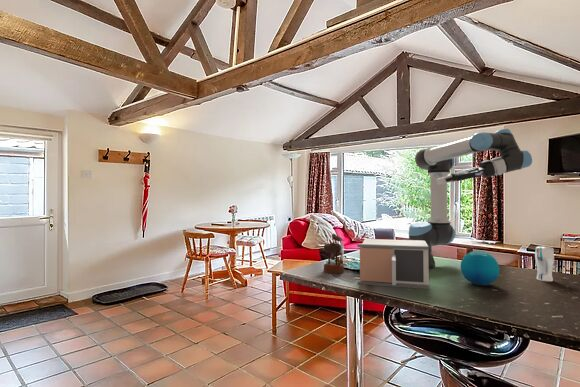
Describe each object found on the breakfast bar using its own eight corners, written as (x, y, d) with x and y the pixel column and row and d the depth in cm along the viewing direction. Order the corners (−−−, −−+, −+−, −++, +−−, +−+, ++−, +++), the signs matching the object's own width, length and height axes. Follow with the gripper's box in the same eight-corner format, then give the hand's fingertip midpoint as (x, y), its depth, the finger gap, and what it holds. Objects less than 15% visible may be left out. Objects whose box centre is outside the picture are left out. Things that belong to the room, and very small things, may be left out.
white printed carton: (554, 279, 154) (554, 247, 154) (553, 282, 149) (553, 249, 149) (536, 277, 159) (536, 245, 159) (534, 280, 154) (533, 247, 154)
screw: (338, 264, 190) (337, 263, 195) (347, 264, 191) (345, 262, 195) (338, 242, 190) (336, 240, 195) (346, 241, 190) (345, 240, 195)
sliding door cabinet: (357, 284, 152) (357, 244, 151) (361, 274, 169) (360, 238, 168) (429, 288, 143) (428, 246, 143) (425, 278, 160) (424, 240, 160)
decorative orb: (457, 286, 146) (457, 252, 146) (463, 278, 158) (463, 246, 158) (497, 292, 137) (497, 255, 137) (501, 283, 149) (501, 250, 149)
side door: (357, 288, 140) (356, 252, 140) (360, 280, 153) (359, 247, 153) (396, 291, 135) (395, 254, 135) (395, 282, 148) (395, 248, 148)
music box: (350, 270, 176) (348, 233, 175) (340, 277, 168) (338, 237, 166) (325, 266, 186) (323, 231, 184) (315, 272, 177) (312, 235, 175)
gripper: (500, 177, 145) (443, 191, 149) (487, 174, 157) (435, 187, 162) (496, 160, 144) (439, 175, 148) (483, 158, 156) (432, 172, 161)
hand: (437, 181), depth 155 cm, fingers closed
